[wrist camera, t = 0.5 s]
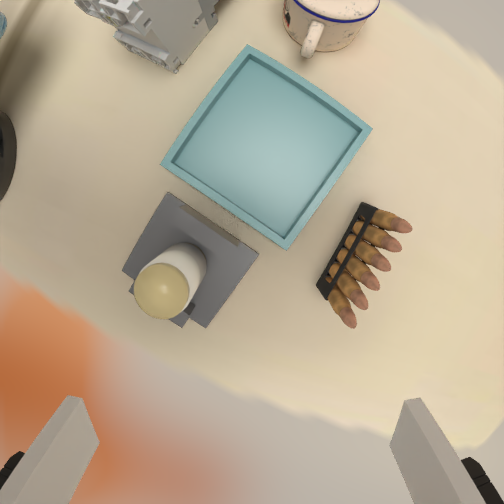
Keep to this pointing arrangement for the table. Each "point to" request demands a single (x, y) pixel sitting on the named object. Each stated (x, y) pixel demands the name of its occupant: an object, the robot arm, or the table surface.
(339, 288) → the ammunition clip
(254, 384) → the table surface
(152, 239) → the grey square holder base
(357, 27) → the teacup with lid
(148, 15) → the circuit breaker
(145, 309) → the cylinder
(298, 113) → the parts tray
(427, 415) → the robot arm
